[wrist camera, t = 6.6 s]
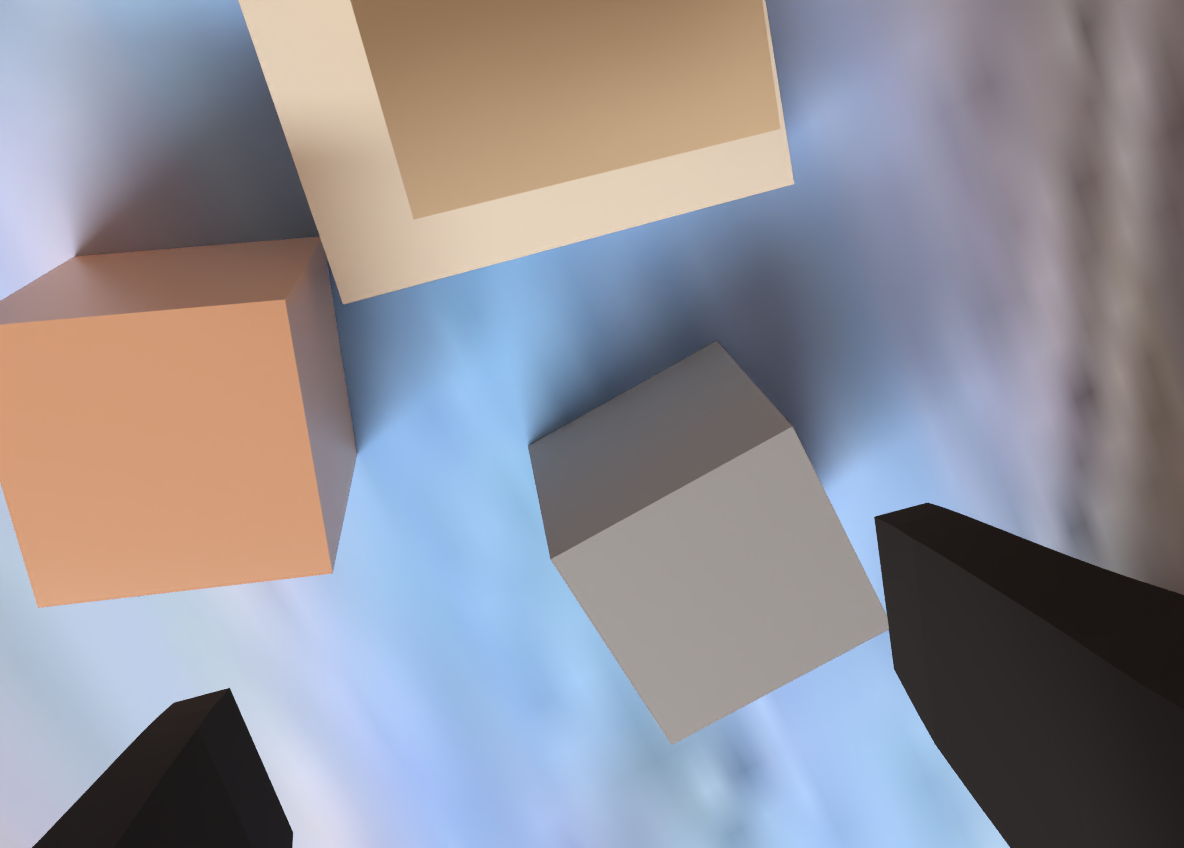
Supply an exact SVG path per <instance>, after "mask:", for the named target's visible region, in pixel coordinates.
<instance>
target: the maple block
mask: <svg viewBox="0 0 1184 848" xmlns="http://www.w3.org/2000/svg"><path fill="white" fill-rule="evenodd" d="M350 1H351V5H352V8H353V11H354V15H355V18H356V22H357V25H358V29H359V32H360V36H361V39H362V43H363V46H364V49H365V53H366V56H367V60H368V63H369V67H370V70H371V74H372V77H373V81H374V84H375V88H376V91H377V94H378V98H379V101H380V105H381V108H382V112H383V115H384V119H385V122H386V126H387V129H388V132H389V136H390V139H391V143H392V146H393V150H394V153H395V157H396V160H397V164H398V167H399V170H400V174H401V177H402V181H403V184H404V188H405V191H406V195H407V198H408V202H409V205H410V209H411V212H412V215H413V219H418V218H422V217H426V216H430V215H435V214H439V213H443V212H447V211H451V210H455V209H459V208H463V207H467V206H471V205H475V204H479V203H483V202H487V201H491V200H495V199H499V198H503V197H507V196H511V195H515V194H519V193H523V192H528V191H532V190H536V189H540V188H544V187H548V186H552V185H556V184H560V183H564V182H568V181H572V180H576V179H580V178H584V177H588V176H592V175H596V174H600V173H604V172H608V171H612V170H616V169H621V168H625V167H629V166H633V165H637V164H641V163H645V162H649V161H653V160H657V159H661V158H665V157H669V156H673V155H677V154H681V153H685V152H689V151H693V150H697V149H701V148H705V147H709V146H714V145H718V144H722V143H726V142H730V141H734V140H738V139H742V138H746V137H750V136H754V135H758V134H762V133H766V132H770V131H774V130H778V129H780V122H779V115H778V108H777V101H776V94H775V87H774V80H773V72H772V65H771V58H770V51H769V44H768V37H767V30H766V23H765V15H764V8H763V1H762V0H350Z"/></svg>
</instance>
